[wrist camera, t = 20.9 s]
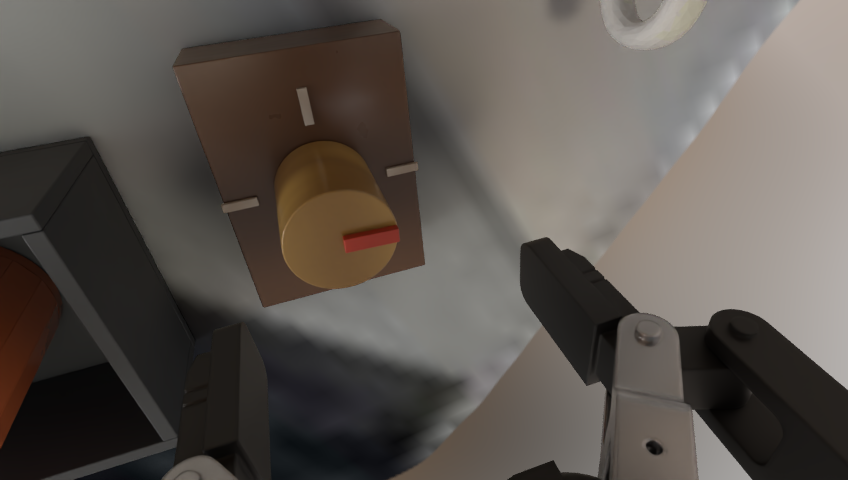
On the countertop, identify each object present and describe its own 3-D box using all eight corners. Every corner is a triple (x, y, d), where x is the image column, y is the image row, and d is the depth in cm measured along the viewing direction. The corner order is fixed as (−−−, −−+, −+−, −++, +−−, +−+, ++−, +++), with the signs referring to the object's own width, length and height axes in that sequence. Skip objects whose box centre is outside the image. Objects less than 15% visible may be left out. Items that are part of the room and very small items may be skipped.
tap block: (178, 49, 18) (167, 67, 16) (383, 18, 20) (404, 30, 17) (259, 272, 24) (261, 311, 22) (410, 234, 26) (428, 266, 24)
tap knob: (285, 235, 20) (295, 305, 17) (263, 149, 18) (269, 207, 14) (375, 217, 21) (404, 279, 17) (365, 132, 19) (396, 183, 15)
